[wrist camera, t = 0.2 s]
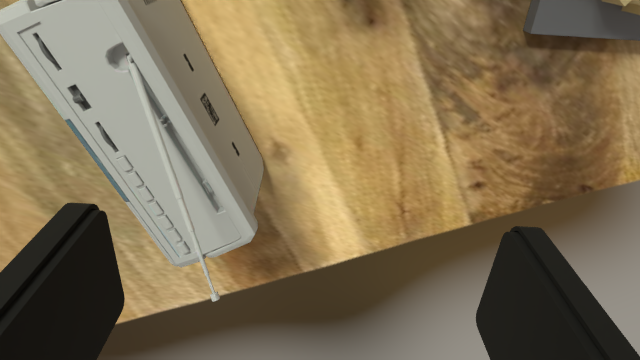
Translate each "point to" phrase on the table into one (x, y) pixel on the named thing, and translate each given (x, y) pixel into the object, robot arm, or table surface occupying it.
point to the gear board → (585, 18)
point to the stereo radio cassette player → (147, 116)
